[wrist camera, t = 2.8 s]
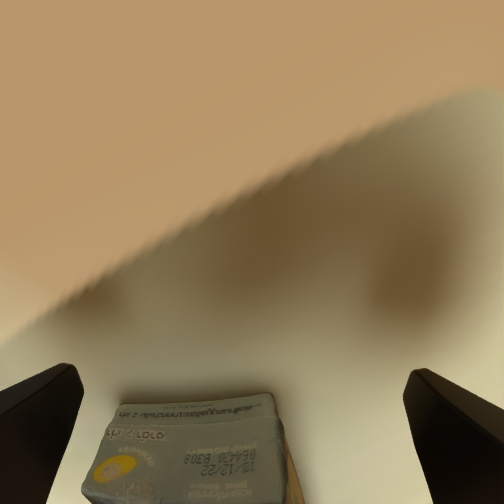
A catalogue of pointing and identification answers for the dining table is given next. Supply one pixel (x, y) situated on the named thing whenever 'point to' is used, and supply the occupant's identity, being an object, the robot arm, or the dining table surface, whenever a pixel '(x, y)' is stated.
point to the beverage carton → (195, 455)
